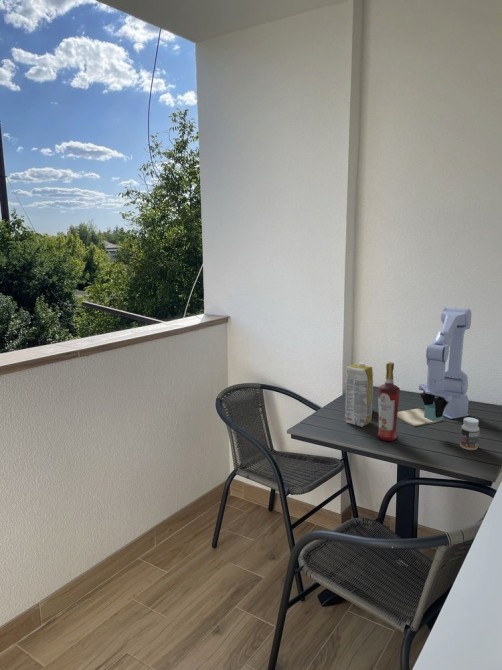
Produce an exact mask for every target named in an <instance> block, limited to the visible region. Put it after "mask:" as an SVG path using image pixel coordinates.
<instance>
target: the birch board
mask: <svg viewBox="0 0 502 670" xmlns="http://www.w3.org/2000/svg"><path fill="white" fill-rule="evenodd" d="M424 411H425V410H424V409H421V408H414V409H413V408H412V409H407V410H402V411H398V413H397V420H401V421H402V422H404V423H406V424H408V425H410V426H412V427H420V426H424V425H430V424H435V423H440V422H443V421H444V419H443V420H438V421H431V420H429V419H427V418H425V417H424Z"/></svg>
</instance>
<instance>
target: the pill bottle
mask: <svg viewBox="0 0 502 670" xmlns="http://www.w3.org/2000/svg"><path fill="white" fill-rule="evenodd" d="M462 421H463V424H462V425H461V427H460V428H461V429H460V438H459V439H460V441H459V446H460V447H461V448H462V449H465V450H468V451H475V450H478V448H479V441H480V431H481V429H480V427H479V423H480V421H479V419H478V418H474V417H468V416H467V417H463V420H462Z"/></svg>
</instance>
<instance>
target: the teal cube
mask: <svg viewBox="0 0 502 670" xmlns="http://www.w3.org/2000/svg"><path fill="white" fill-rule="evenodd" d="M423 411H424V417H425V418H427V419H429V420H431V421H438V420H443V421H444V416H443V414H442V417H438V418H437V417H436V414H435V403H433V404H430V405H424V410H423ZM443 413H444V412H443Z"/></svg>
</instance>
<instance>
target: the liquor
mask: <svg viewBox="0 0 502 670" xmlns="http://www.w3.org/2000/svg"><path fill="white" fill-rule="evenodd" d="M394 366H395V363H394V362H391V361H387V362H385V380H384V383H383V384H380V385H379V386H378V390H377V391H378V392H377V393H378V394H377V395H378V399H377V401H378V402H377V403H378V432H377V434H376V436H378V438H380V440H382V441H385V442H392V441H394V440H395V439H397V438H398V435H397V425H398V418H397V413H398V412H399V403H400V392H401V391H400V389H401V388H400V387H399V386H398V385H396V384H395V383H394V369H395V367H394Z"/></svg>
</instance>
